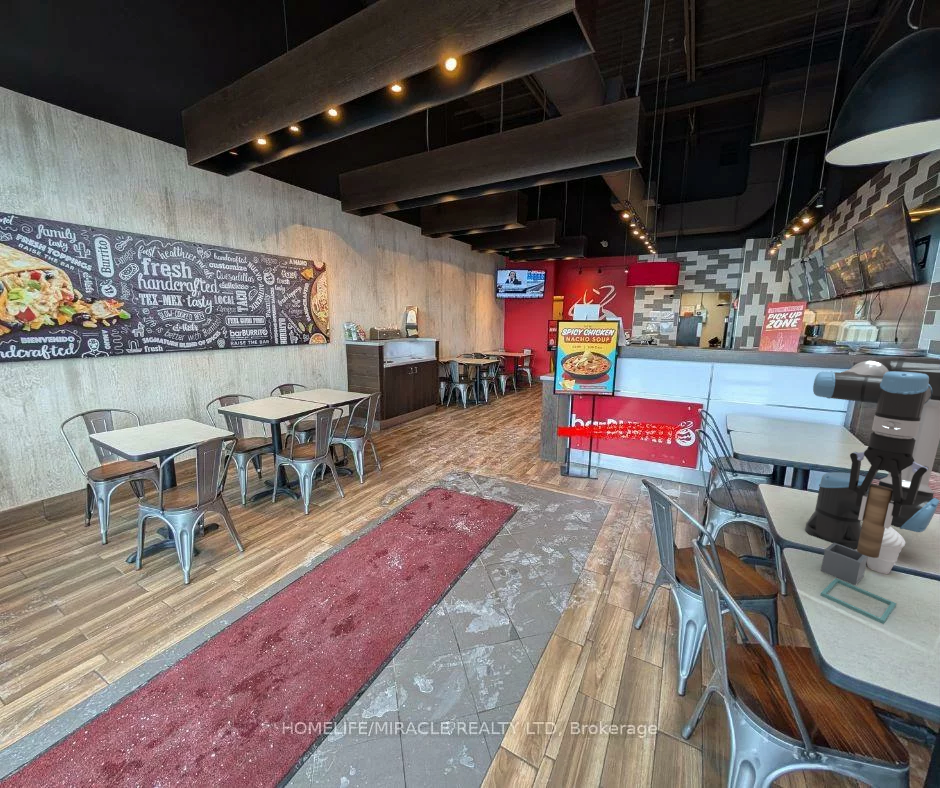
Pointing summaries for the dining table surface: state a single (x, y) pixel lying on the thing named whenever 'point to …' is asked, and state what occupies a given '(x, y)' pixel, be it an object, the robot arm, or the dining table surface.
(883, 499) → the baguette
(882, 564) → the soft serve ice cream cone
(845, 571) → the open box
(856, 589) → the tray
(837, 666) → the dining table surface
